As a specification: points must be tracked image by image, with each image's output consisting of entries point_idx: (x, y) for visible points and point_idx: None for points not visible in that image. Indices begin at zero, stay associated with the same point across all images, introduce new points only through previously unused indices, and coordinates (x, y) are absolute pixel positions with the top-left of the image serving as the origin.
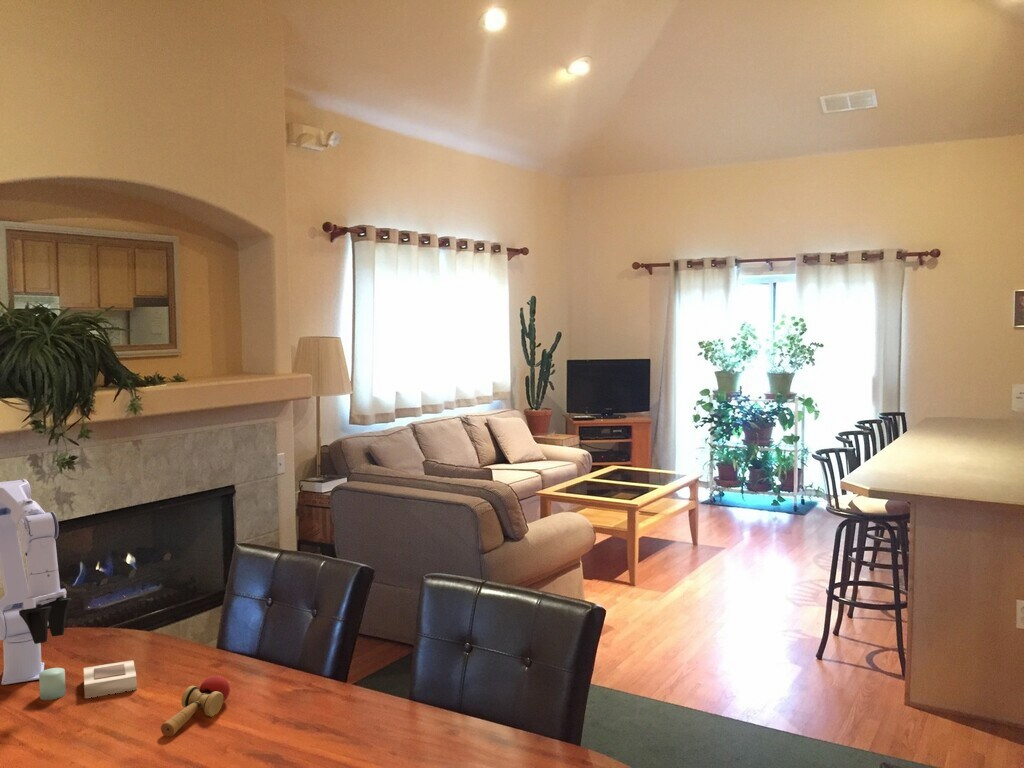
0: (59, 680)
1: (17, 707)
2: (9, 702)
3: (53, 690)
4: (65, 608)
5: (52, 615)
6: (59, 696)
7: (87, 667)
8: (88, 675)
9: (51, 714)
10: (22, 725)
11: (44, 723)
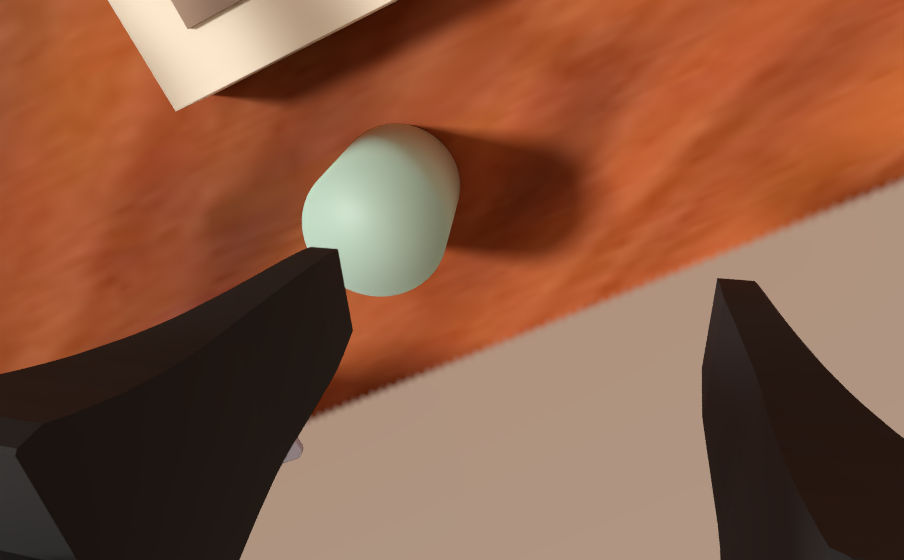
0: (414, 158)
1: (540, 289)
2: (480, 347)
3: (447, 169)
4: (144, 383)
5: (238, 471)
6: (431, 135)
7: (167, 88)
8: (288, 20)
9: (651, 78)
10: (770, 172)
11: (770, 63)
